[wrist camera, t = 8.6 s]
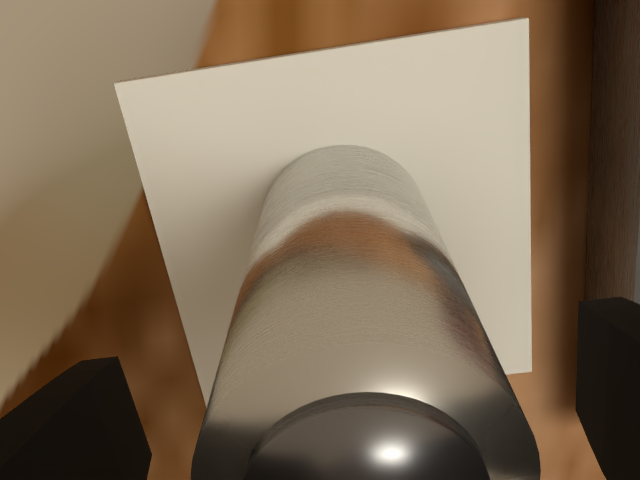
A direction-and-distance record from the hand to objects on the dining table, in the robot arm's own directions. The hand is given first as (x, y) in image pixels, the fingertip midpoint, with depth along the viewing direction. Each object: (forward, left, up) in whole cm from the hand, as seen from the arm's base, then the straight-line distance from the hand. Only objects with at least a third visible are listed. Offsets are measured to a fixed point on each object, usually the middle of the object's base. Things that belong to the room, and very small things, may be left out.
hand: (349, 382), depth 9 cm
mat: (0, 0, -6) cm, 6 cm away
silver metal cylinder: (0, 0, -6) cm, 6 cm away
